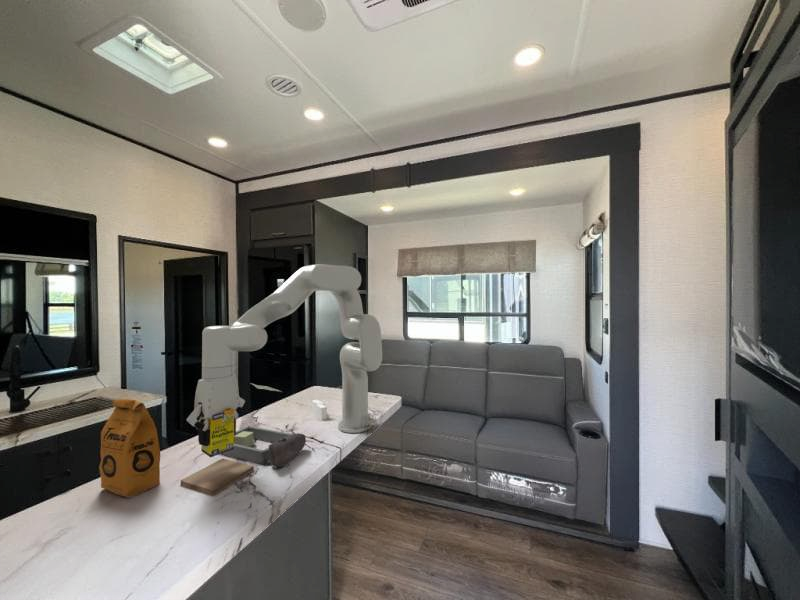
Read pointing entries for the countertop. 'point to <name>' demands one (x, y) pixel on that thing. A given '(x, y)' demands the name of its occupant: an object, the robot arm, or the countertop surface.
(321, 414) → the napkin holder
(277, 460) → the perforated stone tool
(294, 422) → the countertop surface
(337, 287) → the robot arm
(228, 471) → the pad
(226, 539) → the countertop surface
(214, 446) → the supplement box
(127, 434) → the coffee package
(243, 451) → the bin
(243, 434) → the olive block
